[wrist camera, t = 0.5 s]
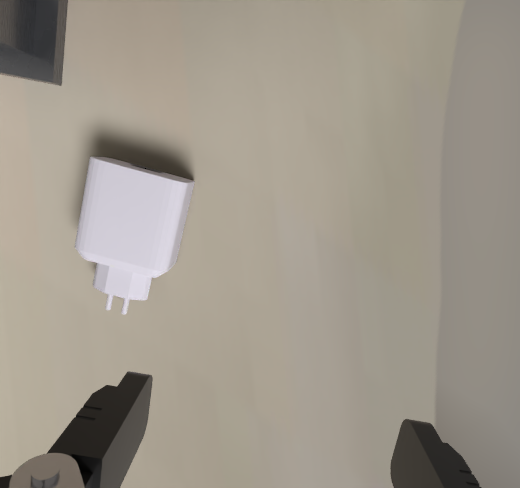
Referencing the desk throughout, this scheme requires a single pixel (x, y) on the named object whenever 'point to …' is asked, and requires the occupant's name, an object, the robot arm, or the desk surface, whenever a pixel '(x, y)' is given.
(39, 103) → the desk surface
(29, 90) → the desk surface
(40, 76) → the stand
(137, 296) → the charger
